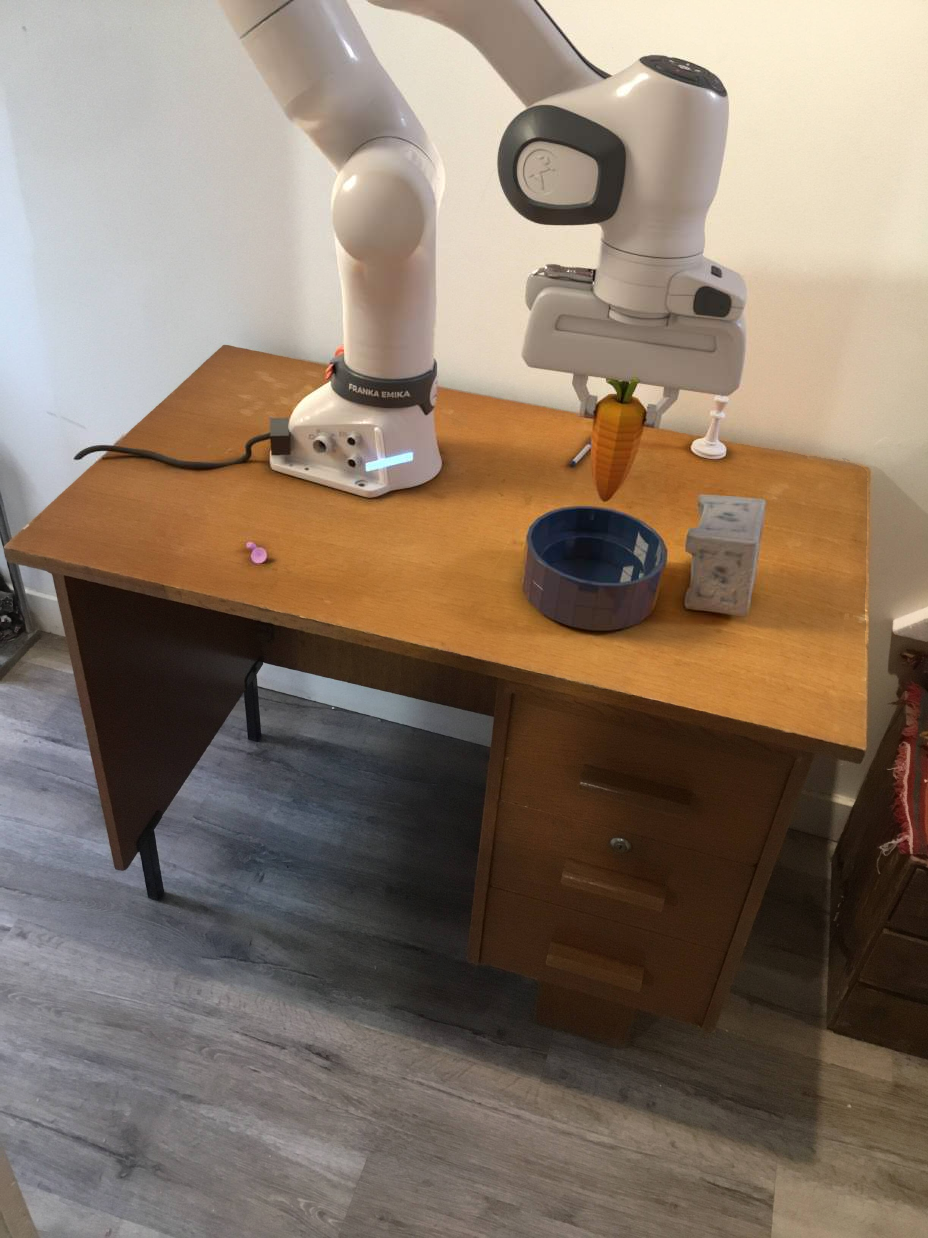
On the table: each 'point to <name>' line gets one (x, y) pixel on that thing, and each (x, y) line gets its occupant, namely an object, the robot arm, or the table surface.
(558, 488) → the table surface
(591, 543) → the blue pet bowl
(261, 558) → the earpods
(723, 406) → the chess piece
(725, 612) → the incense holder
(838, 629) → the table surface
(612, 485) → the carrot
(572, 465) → the ballpoint pen
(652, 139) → the robot arm
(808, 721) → the table surface
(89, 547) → the table surface
